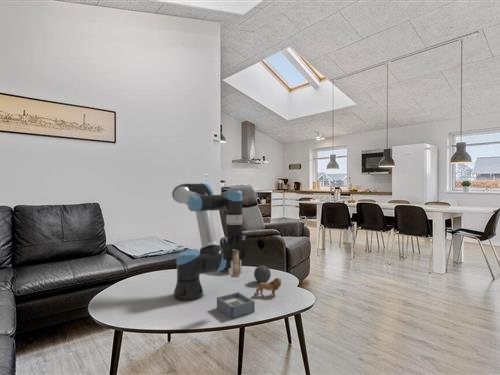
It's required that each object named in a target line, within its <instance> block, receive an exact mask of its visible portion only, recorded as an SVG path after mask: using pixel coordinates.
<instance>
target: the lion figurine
mask: <svg viewBox="0 0 500 375" xmlns="http://www.w3.org/2000/svg"><path fill="white" fill-rule="evenodd" d="M281 285H282V279H281V278H279V277H275V278H274V279H273V280H272V281H271V282H268V283H267V282H265V283H263V282H261V283H260V282H258V284H257V287H256V290H255V293H254V294H253V295H254V296H255V295H260V296H261V297H262V296H263V297H265V295H264V293H263V292H264V290H266V291H271V295H272V294H273V295H272V297H274V296H275V297H276V296H277V295H276V291H278V290H279V288H280V287H281ZM259 292H260V293H259Z"/></svg>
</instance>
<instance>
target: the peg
mask: <svg viewBox="0 0 500 375" xmlns="http://www.w3.org/2000/svg"><path fill="white" fill-rule="evenodd" d="M231 261H233V275H232V276H231V275H230V277H231V278H239V277H240V274H239V250H237V249H233V252H232V259H231Z"/></svg>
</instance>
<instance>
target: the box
mask: <svg viewBox="0 0 500 375" xmlns="http://www.w3.org/2000/svg"><path fill="white" fill-rule="evenodd" d="M216 309H218V310H219V311H221V312H222V313H223V314H225V315H226V316H227V317H229V318H230V319H231V320H233V319H236V318H240V317H243V316H246V315H249V314H253V313H255V312H256V310H255V300H253V299H251V298H250V297H248V296H246V295H245V294H243V293H241V292H239V291H238V292H233V293H230V294H225V295H221V296H218V297H216Z"/></svg>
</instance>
